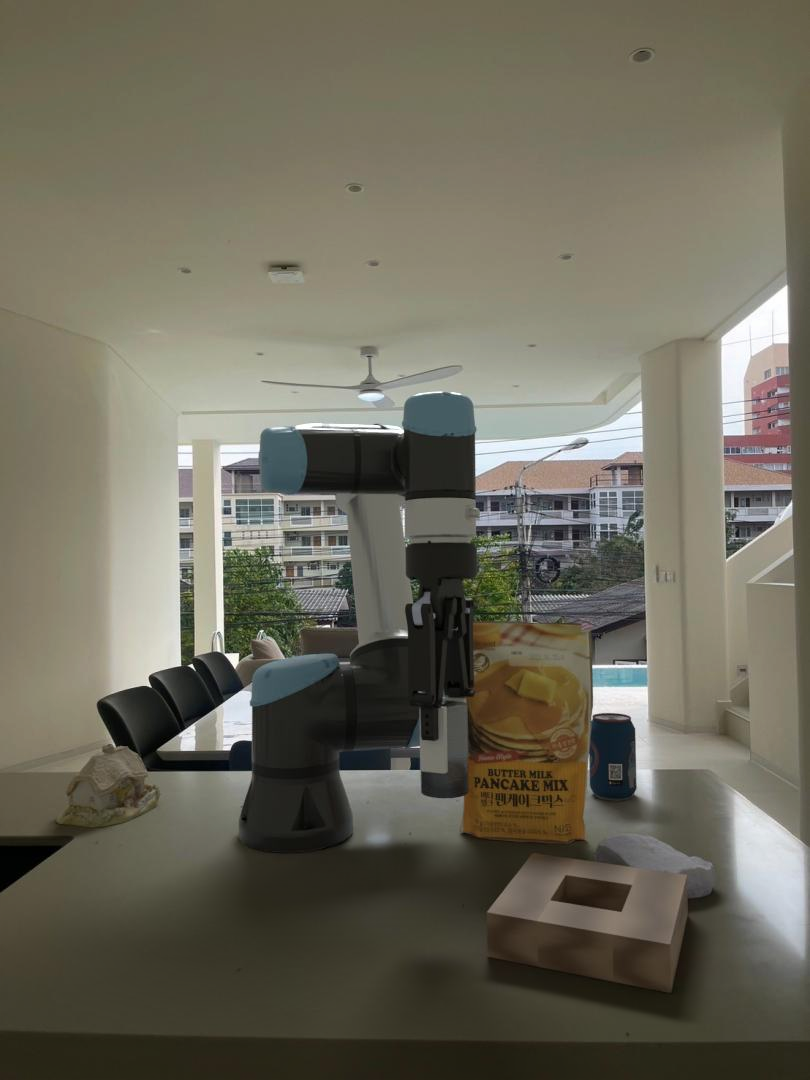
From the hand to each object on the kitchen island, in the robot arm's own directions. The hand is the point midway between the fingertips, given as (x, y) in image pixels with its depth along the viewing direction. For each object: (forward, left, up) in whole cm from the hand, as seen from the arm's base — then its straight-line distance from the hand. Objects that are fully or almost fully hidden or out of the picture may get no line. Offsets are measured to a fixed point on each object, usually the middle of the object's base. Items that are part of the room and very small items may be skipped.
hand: (444, 764), depth 83 cm
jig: (+15, 0, -15) cm, 21 cm away
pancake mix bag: (+1, +25, -15) cm, 29 cm away
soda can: (+9, +47, -15) cm, 50 cm away
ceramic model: (-57, +12, -15) cm, 61 cm away
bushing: (0, 0, -3) cm, 3 cm away
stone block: (+19, +16, -15) cm, 30 cm away
